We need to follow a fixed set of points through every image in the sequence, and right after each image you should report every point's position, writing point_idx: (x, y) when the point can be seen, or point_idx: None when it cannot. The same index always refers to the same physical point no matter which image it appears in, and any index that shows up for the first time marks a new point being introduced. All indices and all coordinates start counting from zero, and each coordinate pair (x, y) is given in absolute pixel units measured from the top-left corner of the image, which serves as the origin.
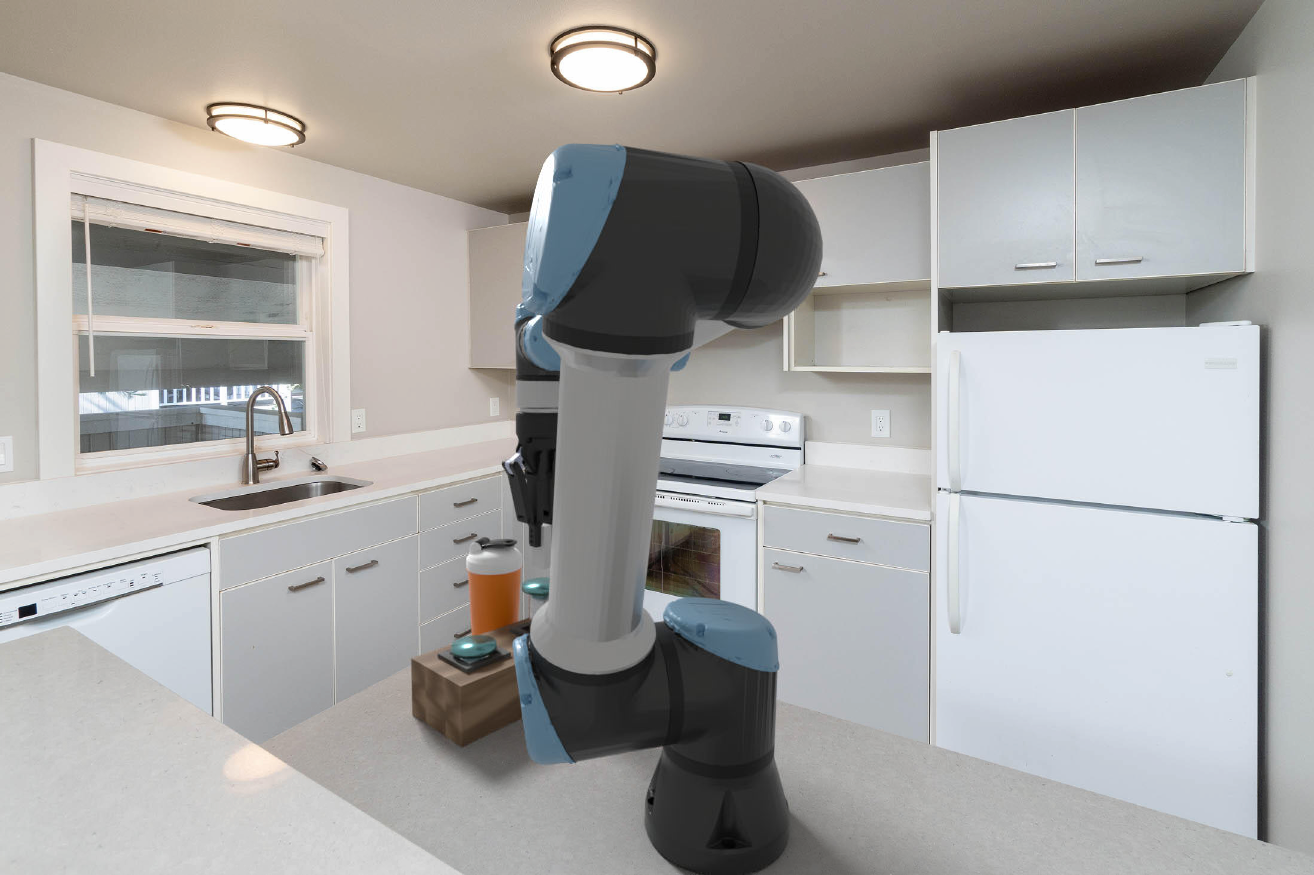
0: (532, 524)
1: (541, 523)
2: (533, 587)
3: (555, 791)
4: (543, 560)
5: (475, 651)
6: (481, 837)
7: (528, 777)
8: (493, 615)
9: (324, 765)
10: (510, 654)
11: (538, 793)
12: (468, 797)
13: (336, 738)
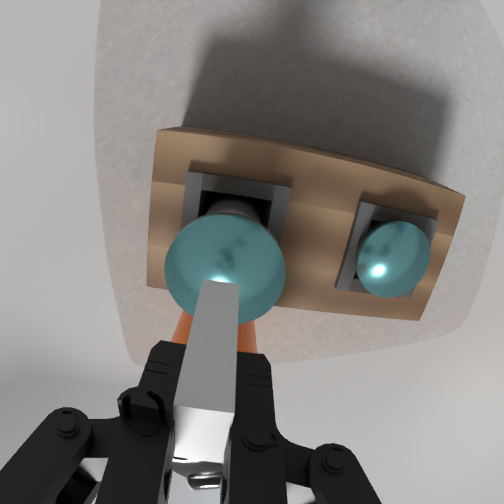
0: (293, 445)
1: (254, 431)
2: (267, 274)
3: (428, 33)
4: (238, 303)
5: (420, 236)
6: (494, 70)
7: (427, 70)
8: (246, 339)
9: (477, 269)
10: (360, 200)
11: (438, 48)
12: (472, 111)
13: (445, 299)
